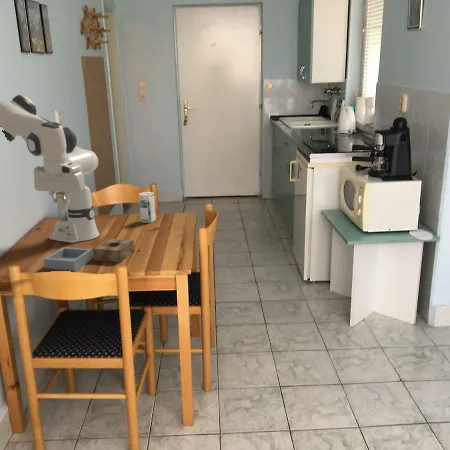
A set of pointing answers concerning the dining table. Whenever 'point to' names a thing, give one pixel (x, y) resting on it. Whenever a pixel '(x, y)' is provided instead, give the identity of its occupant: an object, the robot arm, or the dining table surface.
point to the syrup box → (147, 207)
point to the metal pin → (62, 207)
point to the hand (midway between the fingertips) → (61, 202)
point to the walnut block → (113, 250)
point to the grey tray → (68, 259)
